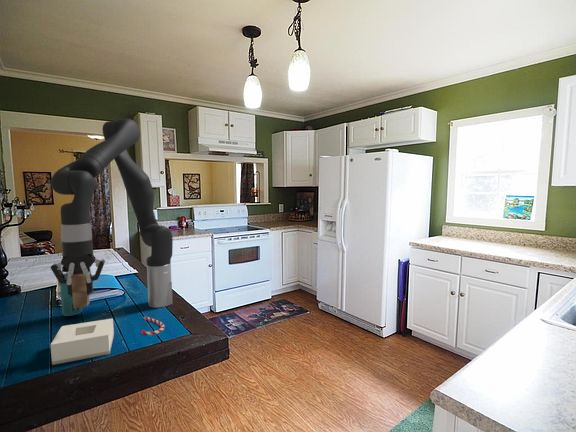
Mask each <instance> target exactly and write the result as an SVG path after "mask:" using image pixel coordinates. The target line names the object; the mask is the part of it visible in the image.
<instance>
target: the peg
mask: <svg viewBox="0 0 576 432" xmlns="http://www.w3.org/2000/svg"><path fill="white" fill-rule="evenodd" d="M71 280H72V295H73V308H78V307H82V308H84V307H88V306H89V304H90V301H91V300H90V295H87V285H86V283H87V281H86V276H85V274H83V273H81V272H78V273H73V275H71Z"/></svg>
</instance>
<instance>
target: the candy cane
mask: <svg viewBox="0 0 576 432" xmlns="http://www.w3.org/2000/svg"><path fill="white" fill-rule="evenodd" d="M143 320H144V321H149V322H151V323H154V324H156V325H158V326H159V327H160V328H159V329H157V330H154V331H146V330H144V329H142V330H141V334H142V335H143V336H154V335H157V334H159V333H161V332H163V331H164V330H165V324H164V323H163V322H162V321H160V320H157V319H155V318H152V317H149V316H144V317H143Z"/></svg>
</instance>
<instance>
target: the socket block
mask: <svg viewBox="0 0 576 432" xmlns="http://www.w3.org/2000/svg"><path fill="white" fill-rule="evenodd" d="M114 336H115V330H114V319H113V318H108V319H107V318H106V319H99V320H94V321H88V322H87V321H86V322H80V323H75V324H67V325H61V327H60V329H59V330H58V332H57V333H56V335H55V337H53V340H52V342H51V343H50V354H51V356H50V357H51V365H52V366H53V365H59V364H65V363H69V362H75V361H80V360H86V359H90V358H97V357H100V356H101V357H102V356H105V355H106V356H107V355H110V354H111V349H112V345H113V342H114Z"/></svg>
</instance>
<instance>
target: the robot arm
mask: <svg viewBox="0 0 576 432" xmlns="http://www.w3.org/2000/svg"><path fill="white" fill-rule="evenodd" d="M101 129H102V134H103V138H104V140H103V141H101V142H99V143H97V144H95V145H93V146H92V147H90V148H88V149H87V150H86V151H85V152H84V153H83V154H82V155H81V156H80V157H78V159H76V160H75V161H72V162H71V163H68V164H66V165H64V166H63V167H60V168H59V169H57V171H55V172H54V173H53V175H52V177H51V180H50V187H51V189H53V191H54V192H55V193H57V194H59V195H63V196H64V195H65V196H68V195H69V196H73V199H72V201H71V202H68V203H64V204H62V205H61V207H60V221H61V222H60V224H61V227H60V240H61V250H62V251H61V252H62V259H61V260H60V261H59V262H56V263H53V264H52V265H51V266H50V269H51V271H52V273H53V275H54V277H55V278H56V279H57V282H58V283H59V285H60V284H63V283H64V284H67V286H68V294H69V295H71V297H73V295H72V280H71V275H73V273H78V272H81V273H83V274H85V276H86V281H87V283H86V285H87V295H89V296H90V295H91V293H92V292H94V286H93V285H94V282H95V281H98V279H99V278H100V276H101V273H102V271H103V268H104V265H105V263H106V260H105V259H98V258H96V257H95V254H94V245H93V229H92V225H91V215H90V214H91V213H90V211H91V209H90V208H91V205H92V201H93V200H92V199H93V196H94V194H95V193H94V192H95V188H96V183H95V178H97V177H98V176H99V175H100V174H101V173H102V172H103V171H105V169H106V168H107V167H108V166H109V165H110V163H112V162H113V161H114V162H115V164H116V167H117V168H118V171H119V174H120V177H121V179H122V182H123V185H124V188H125V190H126V194H127V196H128V198H129V201H130V204H131V206H132V209H133V212H134V215H135V218H136V221H137V224H138V229H139V232H140V233H139V234H140V236H141V240H142V241H143V244H145V245H146V246H147V247H149V248H150V247H151V248H150V249H151V250H150V251H151V254H150V256H148V257H147V258H146V279H147V301H148V307H150V308H155V309H159V308H164V307H167V306H171V305H174V304H173V285H172V284H173V283H172V263H171V261H172V260H171V259H172V257H173V248H174V247H173V241H174V239H173V234H172V231H171V229H170V228H169V227H167V226H165V225H164V226H163V225H159V223H158V221H157V219H156V216H155V211H154V206H155V205H154V204H155V193H154V188H153V185H152V182H151V180H150V177H149V175H148V174H147V173H146V172H145V171H144V170H143V169H142V168H141V167H140V166H139V165H138V164H137V163H136V162H135V161H134V160H133V159H132V158H131V156H130V154H129V152H128V150H127V149H129V148H130V147H132V146H133V145H134V144H136V143H138V141H139V140H140V138H141V130H140V127H139V125H138V124H137V122H136V121H135V120H133V119H132V118H120V119H115V120H109V121H106V122H104V123H103V125H102V128H101ZM93 264H95V267H96V270H95V274H94V275H93V274H92V270H91V267H92V266H93ZM62 266H64V267H65V268H66V269H67V270H68V272H67V273H68V278H65V276H64V274H65V273H64V272H62Z"/></svg>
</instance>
